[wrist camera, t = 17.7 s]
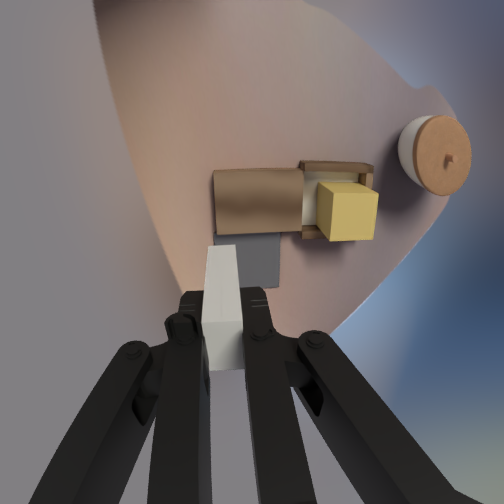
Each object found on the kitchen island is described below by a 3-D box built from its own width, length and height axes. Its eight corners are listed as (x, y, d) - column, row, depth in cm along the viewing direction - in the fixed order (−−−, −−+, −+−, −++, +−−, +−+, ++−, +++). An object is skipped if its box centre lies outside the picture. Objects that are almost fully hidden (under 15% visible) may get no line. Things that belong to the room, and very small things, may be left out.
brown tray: (213, 162, 35) (212, 165, 33) (365, 162, 36) (373, 166, 34) (217, 236, 39) (217, 243, 37) (359, 229, 41) (366, 236, 38)
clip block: (333, 192, 31) (378, 193, 32) (318, 181, 37) (358, 182, 37) (329, 241, 34) (372, 239, 35) (315, 224, 39) (354, 223, 40)
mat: (213, 232, 39) (213, 234, 39) (280, 229, 40) (280, 230, 39) (218, 289, 43) (218, 290, 42) (278, 285, 44) (278, 286, 43)
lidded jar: (446, 163, 37) (486, 177, 29) (401, 194, 39) (438, 214, 30) (424, 102, 33) (466, 105, 24) (373, 130, 34) (412, 137, 26)
